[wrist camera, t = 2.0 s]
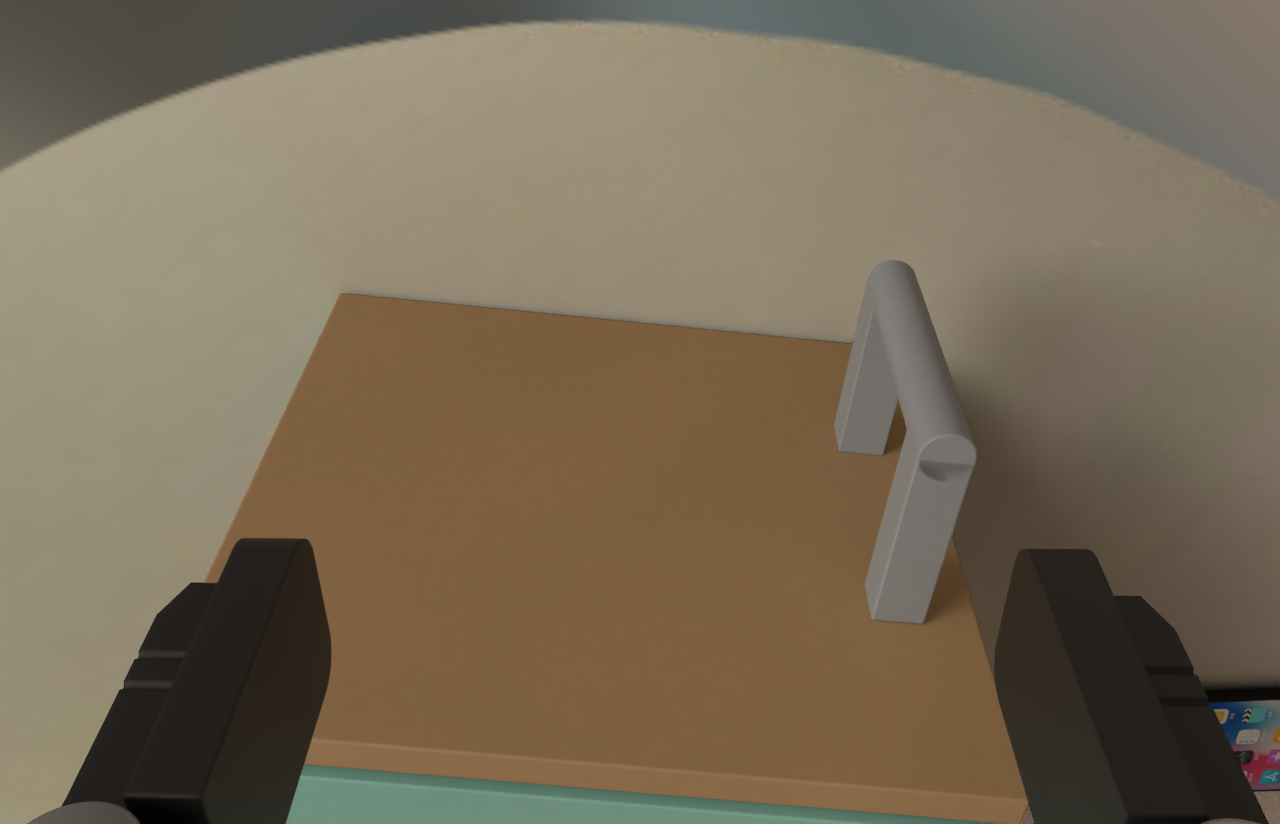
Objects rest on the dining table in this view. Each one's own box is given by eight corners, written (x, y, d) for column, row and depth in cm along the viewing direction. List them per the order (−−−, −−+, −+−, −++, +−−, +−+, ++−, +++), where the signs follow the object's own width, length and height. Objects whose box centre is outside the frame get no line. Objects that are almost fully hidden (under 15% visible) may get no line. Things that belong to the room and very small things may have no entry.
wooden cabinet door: (332, 128, 44) (92, 510, 26) (938, 191, 45) (1118, 604, 27) (340, 314, 49) (139, 752, 30) (892, 368, 49) (1021, 826, 31)
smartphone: (1415, 790, 62) (1116, 799, 63) (1409, 779, 63) (1112, 788, 64) (1460, 688, 58) (1139, 700, 59) (1453, 677, 59) (1134, 689, 60)
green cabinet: (341, 317, 49) (138, 763, 30) (891, 371, 50) (1019, 837, 31) (352, 576, 57) (197, 1056, 38) (826, 619, 58) (899, 1109, 39)
